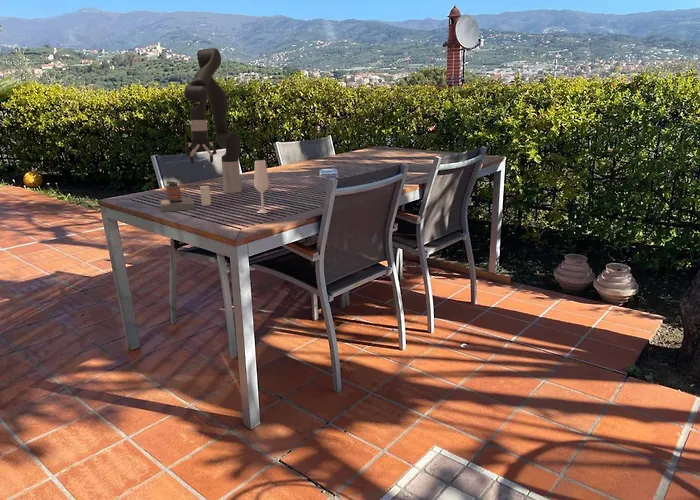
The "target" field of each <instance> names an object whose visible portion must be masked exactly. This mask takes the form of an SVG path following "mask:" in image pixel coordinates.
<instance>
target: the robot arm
mask: <svg viewBox="0 0 700 500" xmlns="http://www.w3.org/2000/svg"><path fill="white" fill-rule="evenodd" d="M196 58H197V63H198V66H199V70H197V72H196V73H195V74H194V77H193V80H192V81H190V82H189V83H188V84H187V85H186V87H185V89H184V92H183V93H184V98H185V99H186V100H187V102H190V103H191V102H194V103H195V102H199V103H198V105H196V106H192V107H191V108H190V109H189V113H190V114H189V115H190V132H191V133H190V134H191V142H185V144H184V145H185V155H186V156H188V157H189V160H190V164H191V165H195V160H194V155H195V154H196V152H205V151H206V152H207V153H208V154H209V164H213V163H214V155H217V154H218V153H217V147H216V141H217V144H218V146H219V147H221V148H222V149H225V154H222V155H221V158H220V159H221V166H222V167H221V169H222V180H223V181H222V182H223V183H222V184H223V192H224V193H226V194H236V193H238V194H239V193H242V192H243V191H242V179H241V177H242V175H241V174H240V173H241V172H240V163H239V162H240V161H239V159H240V154H241V151H240V149H241V147H240V138H239V135H238V133H237V132H235V131H233V130H231V131H229V129H228V126H227V114H228V109H229V105H228V99H227V95H226V92H225V90H224V89H223V88H222V87H221V85H220V84H218V82H217V81H216V80H215V79H214V77H213V76H214V74H215V73H216V72H217V70H218V69H219V67H220V66H221V64H222V56H221V52H220V50H219V49H218V48H216V47H215V48H214V47H213V48H212V47H210V48H205V49H204V48H203V49H199V50H197V52H196ZM207 103H209V106H210V111H211V114H212V119H213V123H214V129H215V136H216V137H215V138H216V141H213V140H212V141H209V133H208V124H207V123H208V122H207V116H206V114H207V113H206V111H207V109H206V108H207ZM209 146H211V147H212V151H211V150H210V148H209ZM190 147H193V148H192V149H191V151H190V150H189V148H190ZM189 151H190V152H189Z"/></svg>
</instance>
